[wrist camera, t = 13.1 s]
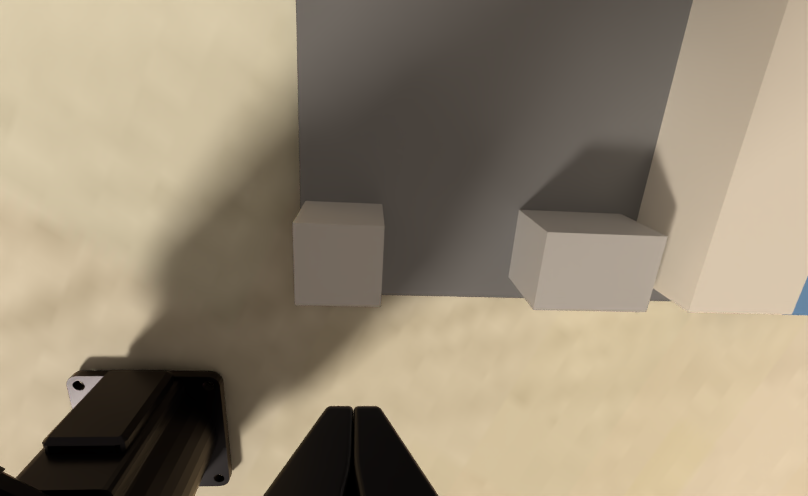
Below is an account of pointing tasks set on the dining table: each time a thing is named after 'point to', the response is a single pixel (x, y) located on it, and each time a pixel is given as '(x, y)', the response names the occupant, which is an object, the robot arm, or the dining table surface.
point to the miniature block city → (482, 150)
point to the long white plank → (734, 161)
